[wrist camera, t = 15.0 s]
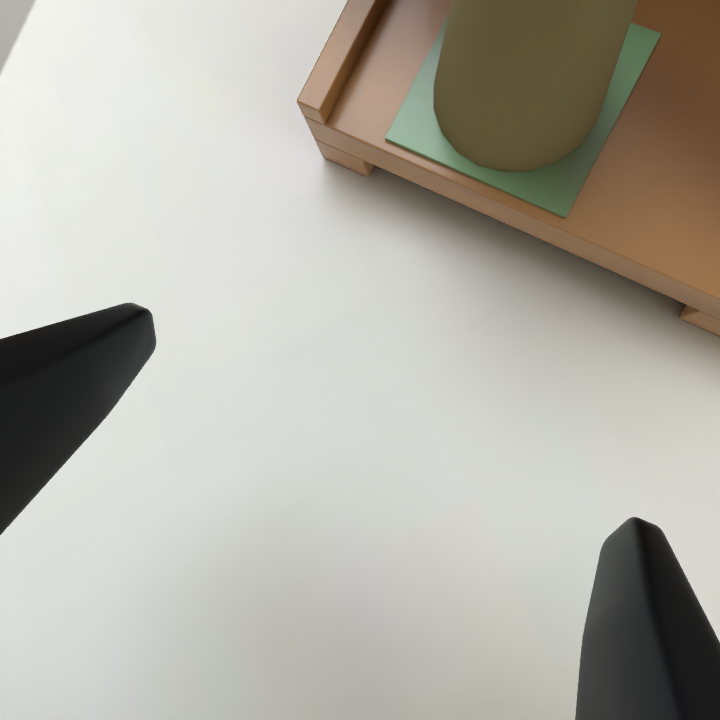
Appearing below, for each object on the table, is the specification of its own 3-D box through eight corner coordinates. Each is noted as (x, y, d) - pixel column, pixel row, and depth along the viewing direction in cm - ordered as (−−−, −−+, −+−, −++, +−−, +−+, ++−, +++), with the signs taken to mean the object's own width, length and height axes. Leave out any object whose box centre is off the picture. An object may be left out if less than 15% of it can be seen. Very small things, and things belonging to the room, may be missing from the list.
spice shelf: (737, 344, 20) (1272, 260, 7) (322, 157, 23) (182, -139, 10) (869, 92, 20) (1651, -447, 7) (435, -64, 23) (437, -641, 10)
